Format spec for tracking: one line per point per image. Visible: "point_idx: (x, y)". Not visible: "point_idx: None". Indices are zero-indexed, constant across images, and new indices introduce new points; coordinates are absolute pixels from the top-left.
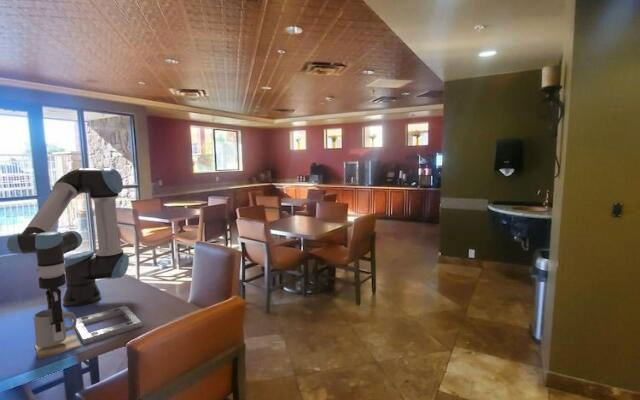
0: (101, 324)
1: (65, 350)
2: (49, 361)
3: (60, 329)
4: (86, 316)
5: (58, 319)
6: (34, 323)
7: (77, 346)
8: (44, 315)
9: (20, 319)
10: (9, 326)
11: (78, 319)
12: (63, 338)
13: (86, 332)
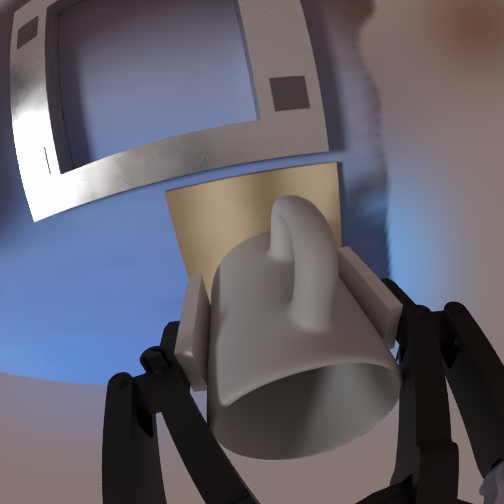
0: (110, 76)
1: (339, 221)
2: (378, 265)
3: (396, 287)
4: (23, 160)
5: (438, 337)
6: (305, 420)
7: (336, 175)
8: (229, 415)
9: (4, 352)
10: (37, 373)
11: (39, 193)
12: (348, 247)
13: (243, 131)
